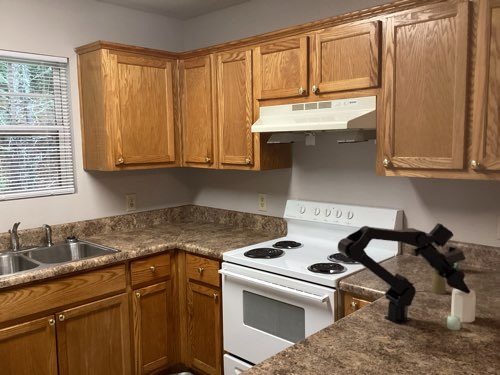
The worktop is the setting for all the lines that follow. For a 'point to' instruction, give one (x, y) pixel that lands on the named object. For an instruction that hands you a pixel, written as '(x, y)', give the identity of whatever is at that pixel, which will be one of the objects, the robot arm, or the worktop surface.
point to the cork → (438, 284)
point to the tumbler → (463, 305)
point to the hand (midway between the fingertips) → (464, 288)
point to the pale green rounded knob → (453, 322)
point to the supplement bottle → (453, 263)
